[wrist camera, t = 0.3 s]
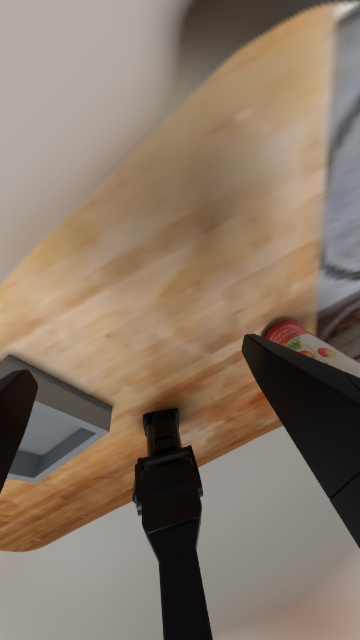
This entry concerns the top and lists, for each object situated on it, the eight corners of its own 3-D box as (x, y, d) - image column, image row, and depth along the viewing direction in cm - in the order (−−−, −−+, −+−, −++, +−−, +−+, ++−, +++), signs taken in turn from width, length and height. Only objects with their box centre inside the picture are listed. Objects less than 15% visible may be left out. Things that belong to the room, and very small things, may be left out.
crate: (112, 407, 30) (109, 431, 26) (46, 455, 32) (36, 483, 28) (9, 354, 22) (-15, 379, 18) (-68, 423, 24) (-102, 457, 20)
